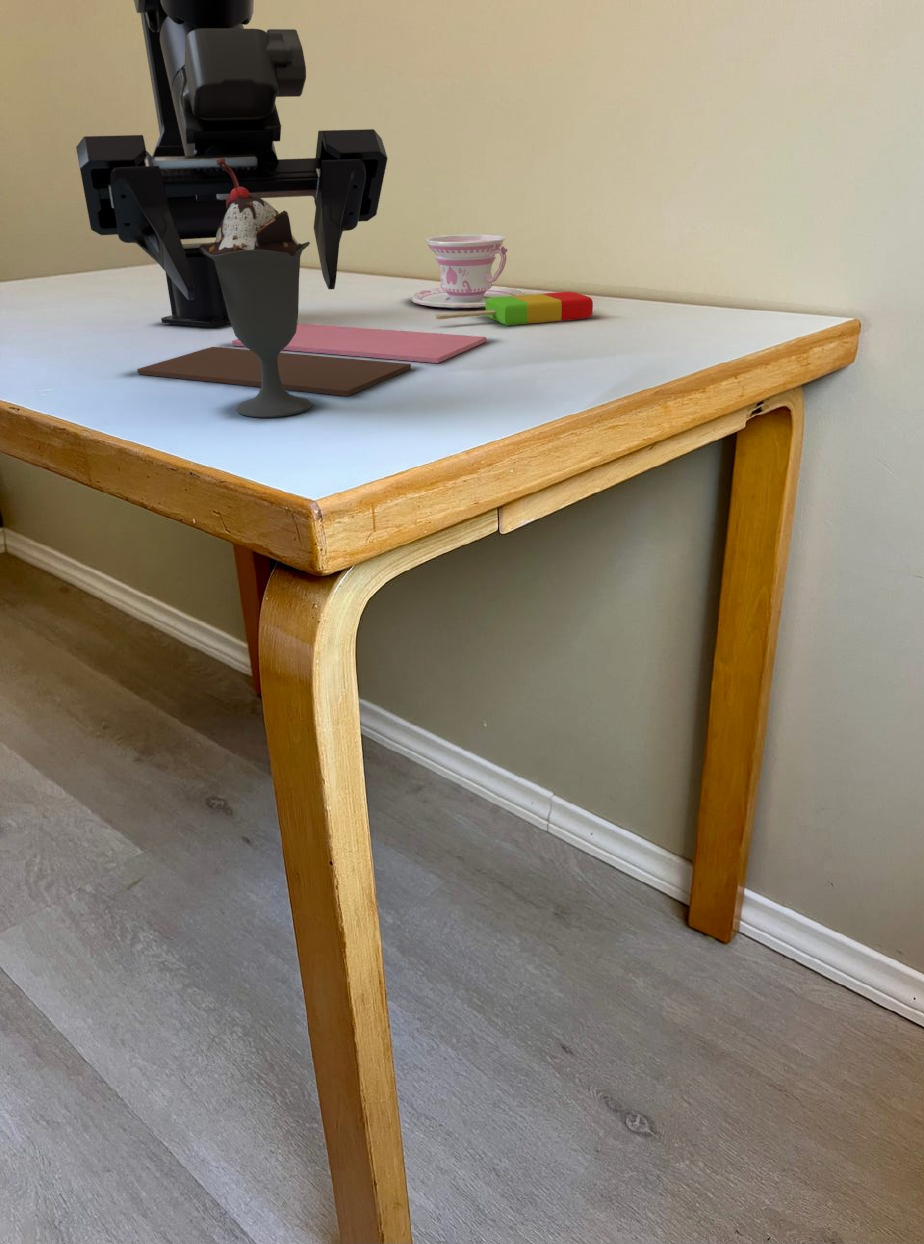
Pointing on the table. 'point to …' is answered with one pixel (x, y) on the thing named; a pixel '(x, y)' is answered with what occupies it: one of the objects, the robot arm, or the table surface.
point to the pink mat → (379, 343)
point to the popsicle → (533, 308)
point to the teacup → (465, 271)
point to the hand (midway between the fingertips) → (263, 289)
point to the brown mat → (293, 370)
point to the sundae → (259, 290)
